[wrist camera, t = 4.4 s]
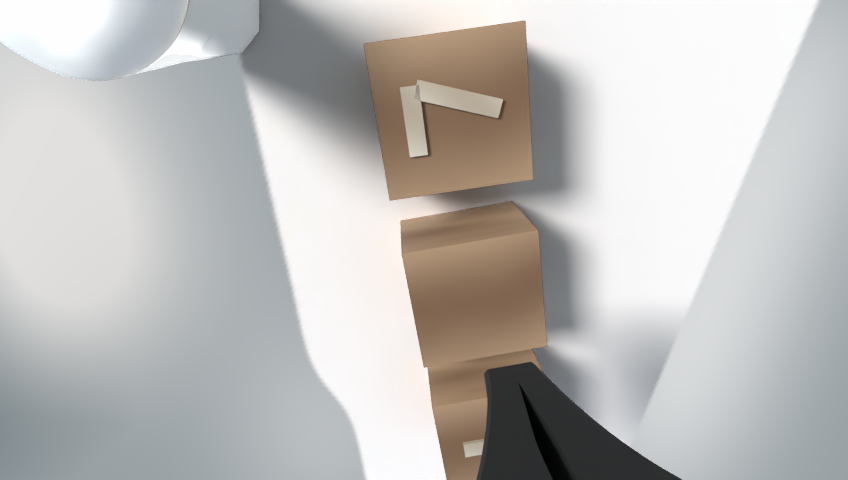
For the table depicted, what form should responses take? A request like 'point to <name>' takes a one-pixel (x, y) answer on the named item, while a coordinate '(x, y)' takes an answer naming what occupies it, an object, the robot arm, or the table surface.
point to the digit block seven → (452, 109)
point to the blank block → (474, 283)
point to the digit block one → (465, 409)
